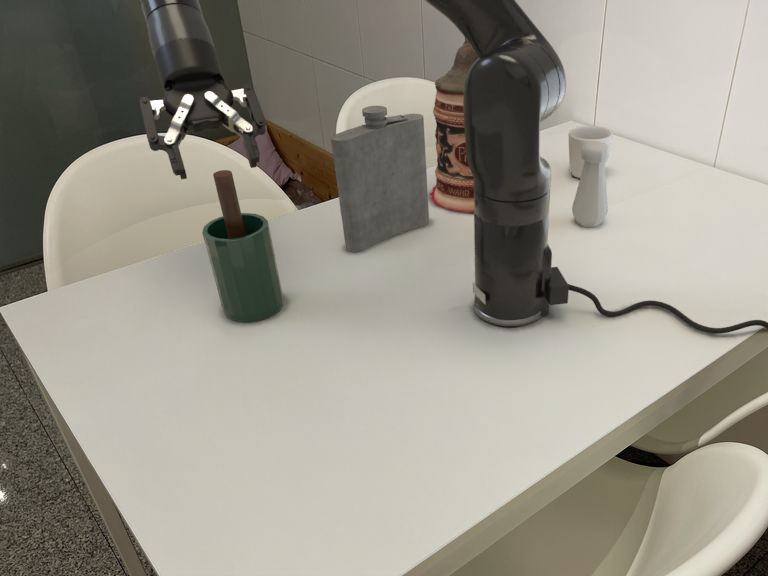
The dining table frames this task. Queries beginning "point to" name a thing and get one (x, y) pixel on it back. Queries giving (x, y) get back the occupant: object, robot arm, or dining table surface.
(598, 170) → the salt shaker
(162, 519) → the dining table surface
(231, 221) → the bottle brush
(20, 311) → the dining table surface
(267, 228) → the green cylindrical holder
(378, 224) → the hip flask
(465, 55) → the beer stein
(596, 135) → the cup
